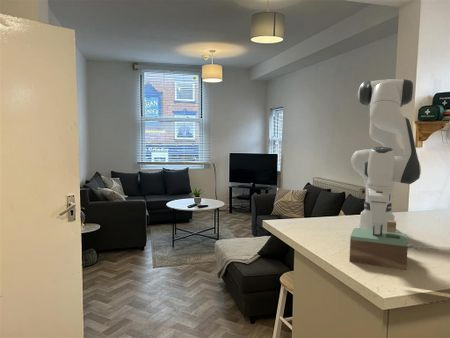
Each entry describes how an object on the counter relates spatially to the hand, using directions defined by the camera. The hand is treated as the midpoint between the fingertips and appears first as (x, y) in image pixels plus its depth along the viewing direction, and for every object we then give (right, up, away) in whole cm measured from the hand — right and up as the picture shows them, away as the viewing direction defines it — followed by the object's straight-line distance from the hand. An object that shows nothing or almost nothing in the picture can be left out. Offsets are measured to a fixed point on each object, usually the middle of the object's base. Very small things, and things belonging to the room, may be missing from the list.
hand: (377, 231), depth 127 cm
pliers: (+23, -11, +17) cm, 30 cm away
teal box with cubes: (0, -3, 0) cm, 2 cm away
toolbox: (0, -11, +1) cm, 12 cm away
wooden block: (+9, -11, +10) cm, 17 cm away
